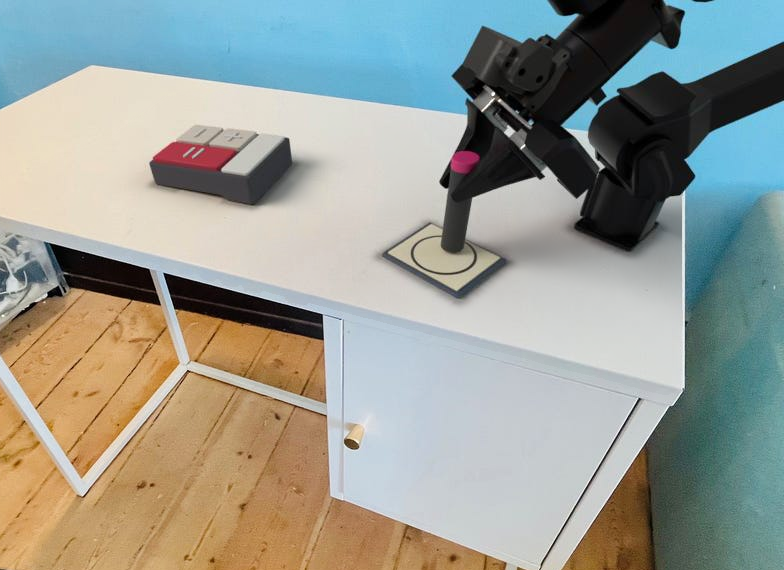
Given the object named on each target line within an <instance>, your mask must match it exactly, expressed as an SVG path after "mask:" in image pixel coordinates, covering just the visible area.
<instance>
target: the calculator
mask: <svg viewBox="0 0 784 570" xmlns="http://www.w3.org/2000/svg"><path fill="white" fill-rule="evenodd" d="M148 164H149V168H150V172H151V175H152V178H153V181H154V184H156V185H158V186H159V185H160V186H165V187H171V188H177V189H182V190H183V189H184V190H189V191H195V192H201V193H208V194H213V195H220V196H222V198H224V199H226V201H229V202H236V203H242V204H248V205H254V204H255V203H257V201H258V200H259V199H260V198H261V197H263V195H264V194H265V193H266V192H267V191H268V190H269V189H270V188H271V187H272V186H273V185H274V184H275V182H277V181H278V180H279V178H281V176H282V175H283V174H284V173H286V171H287V170H288V169H289V168H290V167H291V166H292V165H293V156H292V149H291V139H290V138H289V137H286V136H284V135H277V134H269V133H257V131H255V130H248V129H246V130H245V129H238V128H229V127H228V128H225V129H224V128H223V127H222V126H221V127H220V126H213V125H212V126H211V125H203V124H202V125H201V124H194V125H192V126H190V128H189V129H187V130H186V131H184V132H183V133H182V134H181V135H180V136H178V137H177V138H176V141H171V142H170V143H169V144H168V145H166V146H165V147H164V148H163V149H161V150H160V151H158V152H157V153H156V154H155V155H154V156H153V157H152V160H150V161H149V163H148Z"/></svg>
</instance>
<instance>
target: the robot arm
mask: <svg viewBox="0 0 784 570" xmlns="http://www.w3.org/2000/svg"><path fill="white" fill-rule="evenodd" d="M546 1H547V3H548V4H549V5H550V6H551V8H552V10H554V12H555V14H556V15H558V16H560V17H570V16H574V15H577V16H576V17H575V18H574V19H573V20H572V21H571V22H570V23H569V24H568V25H567V26H566V27H565V28H564V30H562V32H560V33H559V35H557V37H556V38H554V37H553V36H551V35H549V34H547V33H545V34H544V35H541V36H539V37H538V38H537V39H536V40H535V39H533V38H532V37H528V38H527V39H525V40H524V41H523V42H522V41H519V40H517V39H515V38H513V37H511V36H509V35H506V34H504V33H502V32H499V31H497V30H495V29H492V28H490V27H487V26H485V25H481V27H480V28H479V31H478V33H477V34H476V37H475V38H474V40H473V42H472V44H471V47H469V50H468V52H467V54H466V56H465V57H464V60H463V61H462V63H461V64H460V66H459V67H457V69H456V70H455V71H454V72H453V73H452V74H451V78H452V79H453V80H454V81H455V82H456V84H458V86H459V87H460V88H461V89H462V90H463V91H464V92H465V93H466V94H467V95H468V97H469V98H470V99H469V98H468V97H466V99H465V103H464V105H465V106H466V108H467V114H466V117H467V119H466V121H467V122H466V127H465V129H464V132H463V134H462V135H461V136H462V137H461V138H460V140H459V143H458V144H457V147H456V149H455V150H454V152H453V154H455V153H457V152H460V151H470V152H474V153H476V154H477V155H478V156H479V157H480V160H479V162H478V163H477V164H476V165H475V167H474V168H473V169H472V170H471V171H470V172H469V173H468V174H467V175H466V176H465V178H464V179H463V180H462V181H461V182H460V183H459V184H458V186H457V187H456V188H455V189H454V191H453V192H452V193H451V195H450V198H451V199H452V200H453V201H454V202H456V203H460V202H462V201H465V200H468V199H470V198H472V199H473V198H476V197H478V196H481V195H484V194H487V193H489V192H491V191H494V190H498V189H500V188H503V187H506V186H509V185H514V184H518V183H520V182H523V181H527V180H530V179H533V178H536V179H538V180H539V181H541V180H543V179H545V178H546V175H545V174H544V173H543V171H544V170H545V169H546V168H547V169H548V170H549V171H550V172H551V173H552V174H553V175H554V176H555V178H556V181H557V182H558V183H559V185H560V186H562V188H564V189H565V190H566V191H567V192H568V193H569V194H570V195H571V196H572V197H573V198H575V200H578V198H580V197H581V196H582V195H583V194H584V193H585V196H584V199H583V202H582V205H581V208H580V210H579V216H580V217H581V218H579V219H578V220H577V221H576V222H574V225H573V229H574V230H576V231H578V232H581V233H583V234H585V235H588V236H590V237H593V238H594V239H597V240H600V241H602V242H605V243H606V244H610V245H612V246H613V247H616V248H619V249H621V250H623V251H626V252H632V251H634V250H635V249H636V248H637V247H639V245H640V244H642V242H644V241H645V240H646V239H647V238H648V237H649V236H650V235H652V234H653V233H654V232H655V231H656V230H657V229H658V228H659V227H660V222H659V221H657V219H658V217H659V215H660V213H661V210H662V209H663V206H664V204H665V201H666V200H667V199H669V198H671V197H679V196H681V195H683V194H684V192H685V191H686V190H687V189H688V188H689V186H690V185H691V183H693V181H694V180H695V179H696V174H695V172H694V171H693V170H692V168H691V166H690V165H689V164H688V162H687V161H686V160H687V159H688V158H689V157H691V155H692V154H693V153H694V152H695V151H696V149H697V148H698V147H699V146H700V145H701V144H702V142H703V141H704V140H705V139H706V138H707V136H708V135H710V133H713V132H715V131H716V130H719V129H721V128H723V127H726V126H728V125H731V124H733V123H735V122H738V121H739V120H742V119H745V118H747V117H750V116H752V115H754V114H756V113H759V112H761V111H764V110H766V109H768V108H770V107H773V106H775V105H778V104H780V103H782V102H784V41H781V42H779V43H777V44H774V45H772V46H770V47H768V48H765V49H763V50H761V51H759V52H757V53H754V54H752V55H750V56H748V57H745V58H743V59H741V60H739V61H737V62H734V63H732V64H730V65H727V66H726V67H723V68H720V69H719V70H716V71H714V72H712V73H709V74H707V75H704V76H703V77H700V78H699V79H696V80H694V81H690V82H686V83H685V82H684V83H683V82H680V81H678V80H677V79H675V78H674V77H673V76H671V75H670V74H668V73H666V71H663V70H661V71H659V72H656V73H653V74H650V75H649V76H647V77H645V78H644V79H642V80H640V81H639V82H637V83H635V84H633V85H630V86H625V87H618V88H617V89H616V93H617V94H618V95H615V96H612V97H611V98H609V99H608V100H606V101H604V100H605V99H606V98H607V94H606V93H605V91H604V89H602V88H603V87H604V86H605V85H606V84H608V82H609V81H610V80H611V79H612V78H613V77H614V76H615V75H617V74H618V72H619V71H621V69H623V68H624V67H625V66H627V64H628V63H629V62H630V61H632V59H634V57H635V56H636V55H638V54H639V52H640V51H641V50H643V49H644V48H645V47H646V46H647V45H648V44H649V43H650V42H653V43H656V44H658V45H661V46H662V47H664V48H667V49H668V50H675V49H676V48H677V47H678V46H679V44H680V39H681V36H682V22H683V19H684V17H685V15H686V11H685V10H684V9H681V8H679V7H675V6H673V5H671V4H666V2H665V0H546ZM691 1H692V2H694V3H710V2H714V1H715V0H691ZM471 100H472V101H471ZM588 101H589V102H591V104H593V105H595V106H596V107H597V106H598V105H600V103H602V102H603V101H604V102H603V103H602V104H601V105H600V106H598V108H597V112H596V113H595V115H594V116H593V117H592V119H591V120H590V124H589V126H588V130H587V139H588V142H589V144H590V146H591V147H592V148H593V149H594V158H595V160H596V161H597V162H600V163H601V165H602V166H604V167H603V168H602V169H601V168H600V166H599V165H598V163H596V161H595V160H594V159H593V157H592V156H591V155H590V154H589V152H588V151H587V150H586V148H585V147H584V146H583V145H582V143H580V141H579V140H578V139H577V137H576V136H574V135H573V134H572V133H571V132H569V131H568V130H567V129H566V128H564V126H563V124H565V123H566V122H567V121H568V120H569V119H570V118H571V117H572V116H574V114H575V113H576V112H578V110H579V109H581V108H582V107H583V106H585V104H586V103H587V102H588ZM529 122H531V123H532V124H531V123H529ZM508 127H510V129H512V130H513V131H514V132H513V133H512V134H511V135H510V136H508V135H507V134H506V133H505V132H506V131H507V130H508V129H509V128H508ZM451 161H452V157H451V158H450V159H449V162H448V164H447V166H446V168H445V169H444V171H443V173H442V174H441V177H440V178H439V185H440V186H441V187H442V188H444V189H445V190H448V187H449V179H450V172H451Z"/></svg>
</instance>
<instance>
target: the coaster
mask: <svg viewBox="0 0 784 570" xmlns="http://www.w3.org/2000/svg"><path fill="white" fill-rule="evenodd" d="M442 231H443V227H441V226H439V225H437V224H434V223H433V222H430V221H429V222H428V223H426V224H425V225H423V226H422V227H420V228H419V229H417V230H416V231H414V232H413V233H411V234H409V235H408V236H406V237H405V238H403V239H402V240H400V241H398V242H396V244H394V245H393V246H390V247H389V248H388V249H386V250H385V251H383V252H382V253H381V257H383V258H385V259H386V260H387V261H390V262H392V263H393V264H395V265H397V266H399V267H401V268H402V269H404V270H406V271H408V272H410V273H412V274H413V275H415V276H416V277H419V278H420V279H422V280H424V281H426V282H427V283H429V284H431V285H432V286H434V287H436V288H438V289H440V290H442V291H443V292H446V293H447V294H449V295H450V296H452V297H454V298H456V299H460V298H461V297H463V296H464V295H465V294H466V293H468V292H469V291H470V290H472V289H473V288H474V287H476V286H477V285H478V284H479V283H481V282H483V281H484V280H485V279H486V278H488V276H490V275H491V274H493V273H494V272H495V271H497V270H498V269H499V268H500V267H502V266H503V265H504V264H506V263H507V258H505V257H502V256H500V255H498V254H496V253H495V252H493V251H490V250H489V249H486V248H484V247H482V246H480V245H479V244H476V243H473V242H472V241H469V240H468V239H466V238H465V243H464V248H463V249H462V250H461V251H459V252H455V253H451V252H447V251H445V250H443V249H442V248H441V238H442Z"/></svg>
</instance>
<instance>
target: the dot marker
mask: <svg viewBox="0 0 784 570" xmlns="http://www.w3.org/2000/svg"><path fill="white" fill-rule="evenodd" d="M452 154H453V155H452V156H451V158H452V161H451V172H450V179H449V187H448V189H447V194H446V202H445V210H444V217H443V223H442V225H443V226H442V228H443V231H442V238H441V248H442V249H443V250H445V251H447V252H451V253H455V252H459V251H461V250H462V249H463V248H464V243H465V239H466V237H467V232H468V226H469V220H470V214H471V210H472V209H471V208H472V203H473V198H470V199H468V200H465V201H462V202H460V203H456V202H454V201H453V200H452V199H451V198H450V195H451V193H452V192H453V191H454V189H455V188H456V187H457V186H458V184H459V183H460V182H461V181H462V180H463V179H464V178H465V176H466V175H467V174H468V173H469V172H470V171H471V170H472V169H473V168H474V167H475V165H476V164H477V163H478V162H479V160H480V157H479V156H478V155H477V154H476V153H474V152H470V151H460V152H457V153H455V154H454V153H452Z"/></svg>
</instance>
